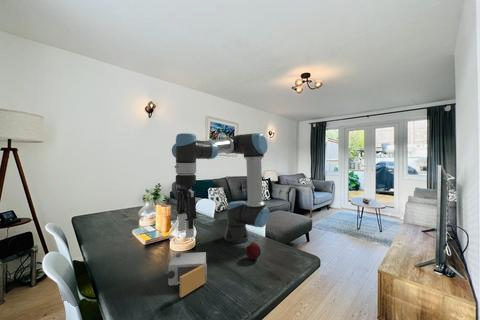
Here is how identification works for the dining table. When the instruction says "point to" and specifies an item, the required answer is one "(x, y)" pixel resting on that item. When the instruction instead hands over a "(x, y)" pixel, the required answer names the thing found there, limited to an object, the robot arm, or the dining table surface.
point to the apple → (253, 251)
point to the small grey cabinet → (184, 265)
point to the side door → (193, 280)
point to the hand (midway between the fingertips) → (185, 233)
